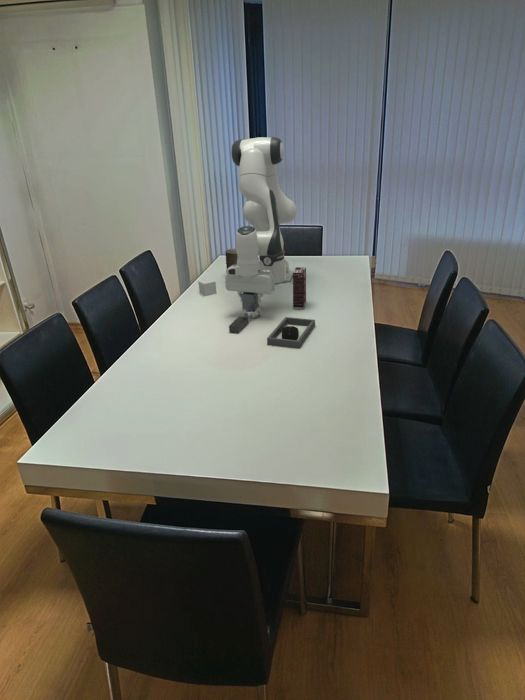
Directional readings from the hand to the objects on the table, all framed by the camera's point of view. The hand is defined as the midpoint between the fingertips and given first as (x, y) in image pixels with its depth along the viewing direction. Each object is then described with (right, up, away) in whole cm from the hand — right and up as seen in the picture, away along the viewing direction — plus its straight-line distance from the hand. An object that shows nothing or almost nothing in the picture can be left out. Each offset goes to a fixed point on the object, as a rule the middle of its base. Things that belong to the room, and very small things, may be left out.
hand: (250, 302), depth 198 cm
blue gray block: (0, -2, +1) cm, 2 cm away
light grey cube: (-21, +7, +32) cm, 38 cm away
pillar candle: (-9, +18, +53) cm, 57 cm away
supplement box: (+21, -1, +11) cm, 23 cm away
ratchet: (-2, -9, -3) cm, 10 cm away
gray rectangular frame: (+16, -14, -17) cm, 27 cm away
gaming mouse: (+15, -16, -19) cm, 29 cm away
